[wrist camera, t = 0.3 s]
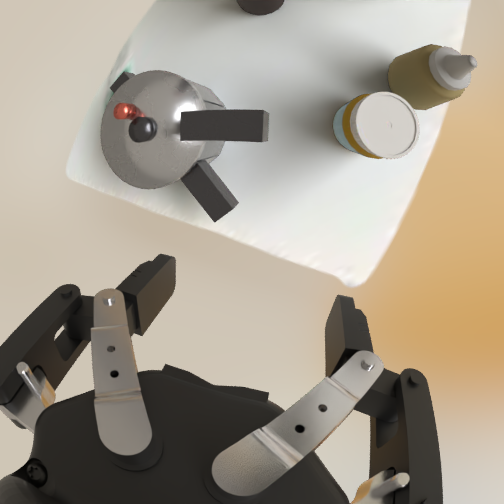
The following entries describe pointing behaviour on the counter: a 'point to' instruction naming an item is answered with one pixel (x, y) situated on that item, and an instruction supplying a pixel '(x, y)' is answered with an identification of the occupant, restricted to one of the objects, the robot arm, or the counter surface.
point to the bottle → (377, 126)
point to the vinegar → (260, 6)
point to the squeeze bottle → (430, 75)
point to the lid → (167, 128)
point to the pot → (203, 164)
